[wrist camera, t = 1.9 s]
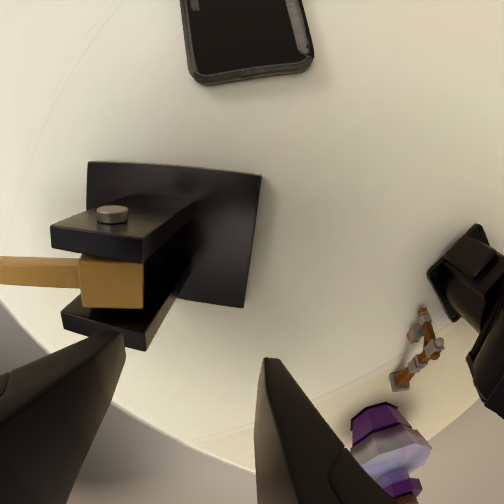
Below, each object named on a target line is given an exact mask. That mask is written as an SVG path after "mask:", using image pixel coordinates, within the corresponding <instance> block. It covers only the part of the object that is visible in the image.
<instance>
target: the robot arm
mask: <svg viewBox="0 0 504 504" xmlns="http://www.w3.org/2000/svg"><path fill="white" fill-rule="evenodd" d="M477 229H478V231H477ZM433 273H434V275H433V276H432V274H433ZM427 278H428V279H429V281H430V283H431V285H432V287H433V288H434V290H435V292H436V294H437V296H438V298H439V300H440V302H441V303H442V305H443V307H444V309H445V311H446V313H447V315H448V317H449V319H450V320H451V321H452V322H456V321H457V320H458V319H460V318H461V317H463V318H464V319H465V320H466V321H467V322H468V323H469V324H470V325H471V326H472V327H473V328H474V329H475V330H476V331H477V332H478V333H479V336H478V338H477V340H476V342H475V344H474V346H473V348H472V350H471V351H470V352H469V353H468V355H467V357H466V361H467V363H468V366H469V369H470V371H471V374H472V377H473V383H474V386H475V387H476V389H477V392H478V394H479V397H480V398H481V400H482V402H484V405H485V407H487V408H488V409H490V410H492V411H494V412H495V413H497V414H498V415H499V416H500V417H502V418H503V419H504V255H502V254H500V253H499V252H497V251H496V250H495V249H493V248H491V247H490V245H489V242H488V240H487V237H486V235H485V232H484V230H483V227H482V226H481V225H479V224H475V225H474V226H473V227H472V228H471V229H470V230H469V231H468V232H467V233H466V234H465V235H464V236H463V237H462V238H461V239H460V240H459V241H458V242H457V243H456V244H455V245H454V246H453V247H452V248H451V249H450V250H449V251H448V252H447V253H446V254H445V255H444V256H443V257H442V258H441V259H440V260H439V261H437V262H436V263H435V264H434V265H433V266H432V267H431V268H430V269H429V270H428V272H427ZM454 316H455V317H454ZM125 359H126V353H125V345H124V337H123V334H122V333H121V332H120V331H117V330H113V329H107V330H104V331H102V332H100V333H98V334H95V335H93V336H91V337H88V338H86V339H84V340H82V341H79V342H77V343H75V344H72V345H70V346H68V347H65V348H63V349H61V350H59V351H56V352H54V353H52V354H49V355H47V356H45V357H42V358H40V359H38V360H35V361H33V362H31V363H28V364H26V365H24V366H21V367H19V368H16V369H14V370H12V371H11V372H7V373H5V374H2V375H0V504H66V503H67V500H68V498H69V495H70V493H71V490H72V488H73V485H74V483H75V480H76V478H77V476H78V473H79V471H80V469H81V466H82V464H83V462H84V460H85V457H86V455H87V453H88V451H89V448H90V446H91V444H92V442H93V440H94V437H95V435H96V433H97V430H98V429H99V427H100V424H101V422H102V420H103V418H104V416H105V414H106V412H107V410H108V408H109V405H110V403H111V400H112V397H113V394H114V391H115V389H116V386H117V383H118V380H119V377H120V374H121V372H122V369H123V366H124V363H125ZM254 448H255V466H256V483H257V499H258V504H400V503H398V502H397V501H396V500H395V499H394V498H393V497H392V496H391V495H389V494H388V493H387V492H386V491H385V490H384V489H383V488H382V487H381V486H380V485H379V484H378V483H377V482H376V481H375V480H374V479H373V478H372V477H371V476H370V475H369V474H368V473H367V472H366V471H365V470H364V469H363V467H362V466H361V465H360V464H359V463H358V462H357V460H356V459H355V458H354V457H353V456H352V454H351V453H350V452H349V451H348V449H347V448H344V444H343V443H342V442H341V441H340V439H339V438H338V437H337V435H336V434H335V433H334V432H333V430H332V429H331V428H330V426H329V425H328V424H327V422H326V421H325V420H324V418H323V417H322V416H321V415H320V413H319V412H318V411H317V409H316V408H315V407H314V405H313V404H312V403H311V401H310V400H309V399H308V397H307V396H306V395H305V393H304V392H303V390H302V389H301V388H300V386H299V385H298V384H297V382H296V381H295V380H294V378H293V377H292V375H291V374H290V373H289V371H288V370H287V369H286V367H285V366H284V364H283V363H282V362H281V360H280V359H277V358H268V357H265V358H264V359H263V362H262V367H261V372H260V377H259V382H258V391H257V402H256V414H255V425H254Z"/></svg>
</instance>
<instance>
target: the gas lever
mask: <svg viewBox="0 0 504 504" xmlns="http://www.w3.org/2000/svg"><path fill="white" fill-rule="evenodd" d="M0 284H6V285H21V286H38V287H57V288H80V290H81V298H82V305H83V307H91V308H125V309H142V308H143V298H144V262H143V263H142V264H139V263H133V262H127V261H121V260H115V259H109V258H104V257H98V256H93V255H87V254H82V255H81V257H80V258H79V259H74V258H40V257H10V256H0Z"/></svg>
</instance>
